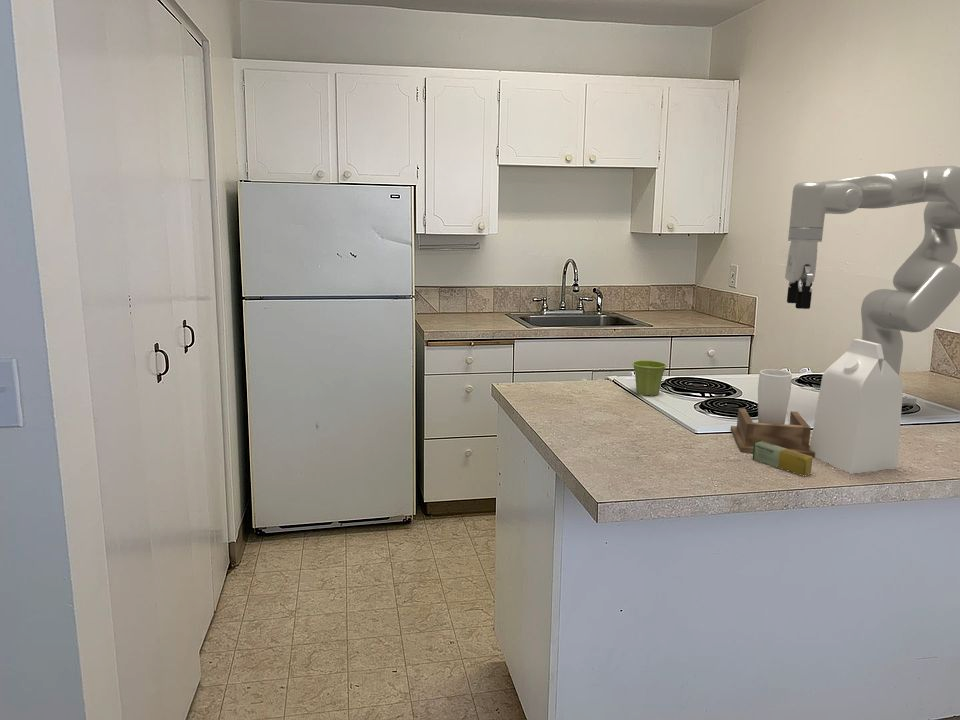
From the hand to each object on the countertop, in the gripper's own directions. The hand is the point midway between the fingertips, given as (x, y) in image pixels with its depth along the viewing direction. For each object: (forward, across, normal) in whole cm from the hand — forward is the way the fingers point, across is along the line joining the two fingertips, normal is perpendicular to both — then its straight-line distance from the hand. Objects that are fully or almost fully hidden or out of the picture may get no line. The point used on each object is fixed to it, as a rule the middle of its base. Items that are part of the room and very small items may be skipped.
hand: (797, 305), depth 177 cm
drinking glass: (+28, +22, -8) cm, 36 cm away
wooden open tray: (+28, +23, -8) cm, 37 cm away
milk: (+29, +32, +7) cm, 44 cm away
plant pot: (+28, -15, -34) cm, 47 cm away
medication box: (+29, +38, -9) cm, 49 cm away
